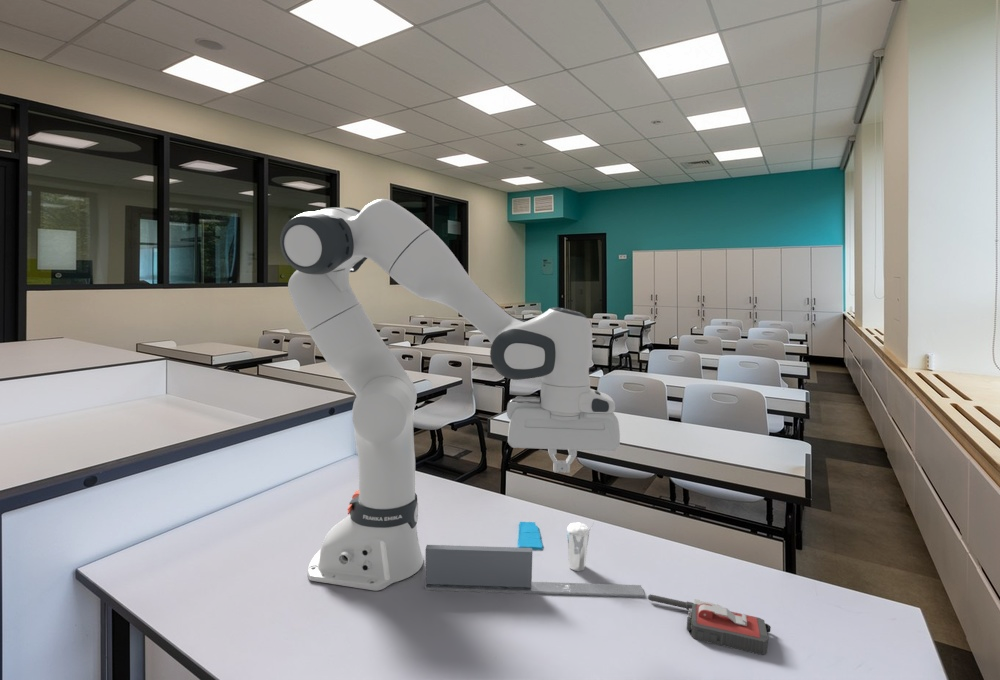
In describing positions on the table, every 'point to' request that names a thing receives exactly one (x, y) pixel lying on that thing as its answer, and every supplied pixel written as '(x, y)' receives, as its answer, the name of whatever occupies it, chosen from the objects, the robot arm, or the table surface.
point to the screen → (479, 565)
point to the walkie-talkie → (722, 625)
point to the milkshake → (577, 545)
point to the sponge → (529, 536)
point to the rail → (550, 589)
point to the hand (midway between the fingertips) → (561, 471)
